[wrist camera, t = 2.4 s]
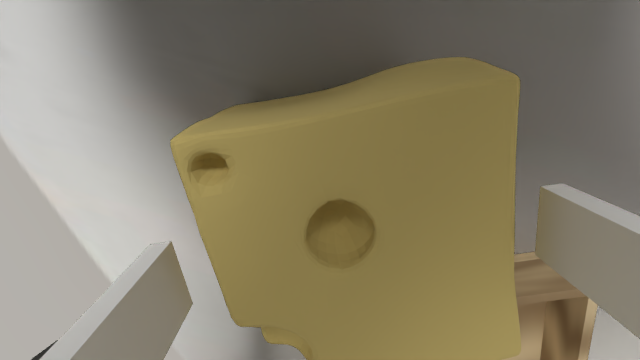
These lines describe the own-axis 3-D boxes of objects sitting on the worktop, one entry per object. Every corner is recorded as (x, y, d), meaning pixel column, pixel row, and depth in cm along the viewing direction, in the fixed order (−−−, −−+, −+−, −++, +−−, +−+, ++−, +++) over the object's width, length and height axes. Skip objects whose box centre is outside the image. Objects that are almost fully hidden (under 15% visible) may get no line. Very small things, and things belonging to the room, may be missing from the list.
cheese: (276, 255, 21) (247, 406, 12) (234, 93, 17) (141, 119, 8) (430, 230, 21) (529, 365, 11) (419, 58, 17) (551, 43, 8)
